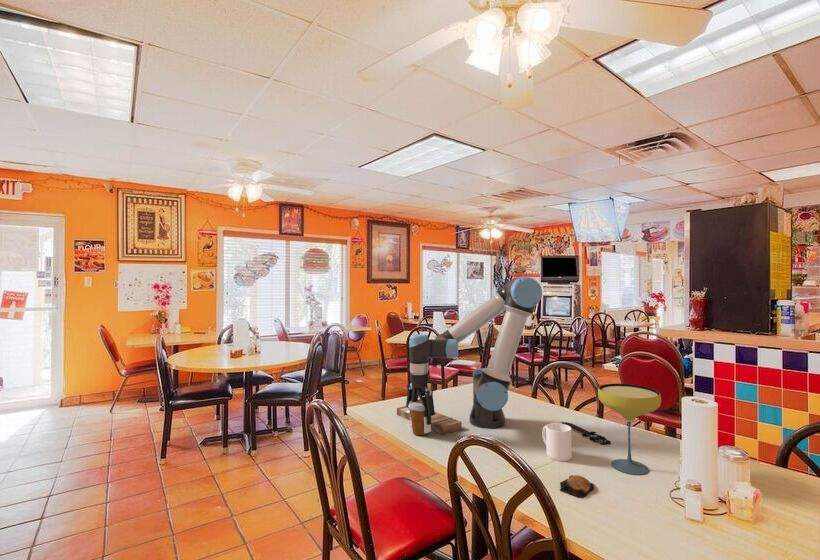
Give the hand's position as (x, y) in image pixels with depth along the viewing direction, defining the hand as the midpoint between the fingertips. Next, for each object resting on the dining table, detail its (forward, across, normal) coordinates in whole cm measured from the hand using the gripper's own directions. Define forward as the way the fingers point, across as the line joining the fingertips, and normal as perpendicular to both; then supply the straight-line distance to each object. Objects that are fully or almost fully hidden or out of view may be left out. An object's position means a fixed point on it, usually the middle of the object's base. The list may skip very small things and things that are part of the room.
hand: (420, 429), depth 166 cm
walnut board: (+2, +9, -11) cm, 14 cm away
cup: (+2, -46, -24) cm, 52 cm away
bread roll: (+3, -63, -8) cm, 63 cm away
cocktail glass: (+2, -67, -33) cm, 75 cm away
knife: (+2, -41, -50) cm, 65 cm away
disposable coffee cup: (+1, 0, 0) cm, 1 cm away
